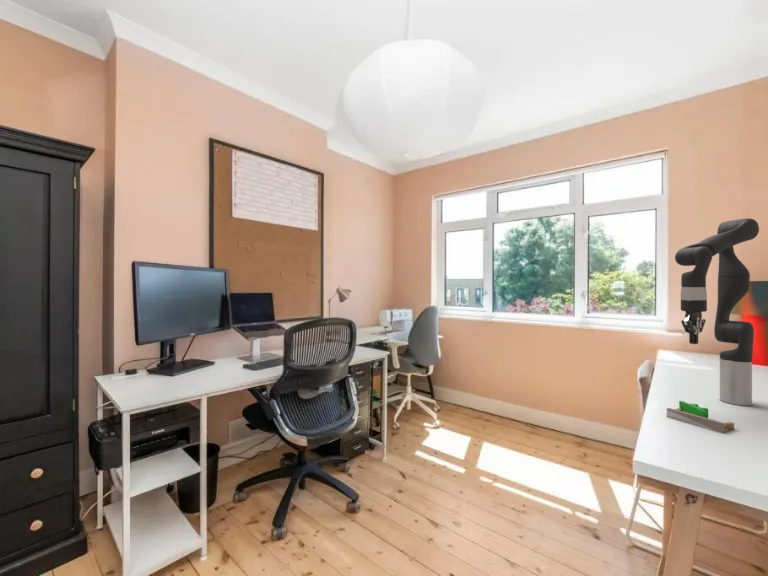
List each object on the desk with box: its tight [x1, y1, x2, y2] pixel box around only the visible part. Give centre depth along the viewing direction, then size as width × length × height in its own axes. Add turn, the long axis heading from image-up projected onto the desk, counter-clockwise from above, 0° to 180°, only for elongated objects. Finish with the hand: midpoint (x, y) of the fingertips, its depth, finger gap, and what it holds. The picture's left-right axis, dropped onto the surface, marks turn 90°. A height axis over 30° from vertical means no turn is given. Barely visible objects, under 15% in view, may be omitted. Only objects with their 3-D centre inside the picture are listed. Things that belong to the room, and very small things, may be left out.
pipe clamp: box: [678, 400, 709, 419], centre depth 120 cm, size 11×4×5 cm, turn 172°
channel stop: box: [666, 407, 735, 434], centre depth 116 cm, size 8×15×3 cm, turn 24°
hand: (693, 343), depth 130 cm, fingers closed
